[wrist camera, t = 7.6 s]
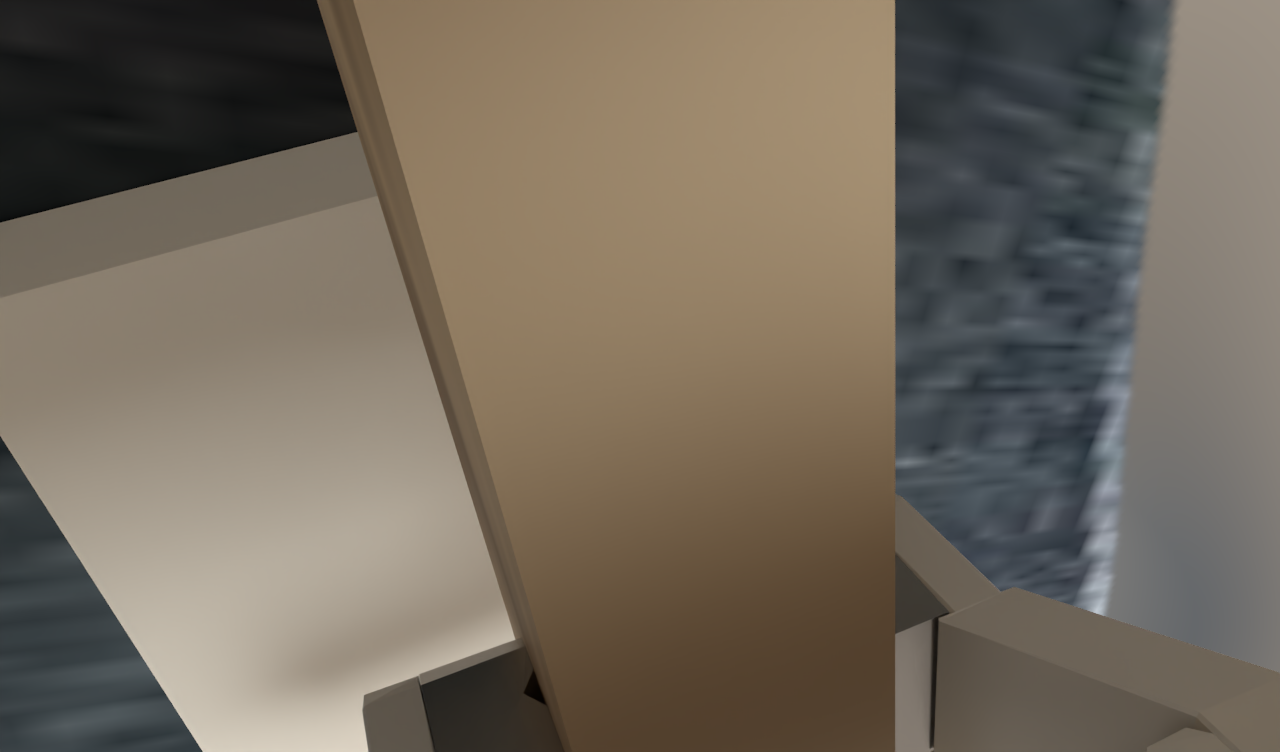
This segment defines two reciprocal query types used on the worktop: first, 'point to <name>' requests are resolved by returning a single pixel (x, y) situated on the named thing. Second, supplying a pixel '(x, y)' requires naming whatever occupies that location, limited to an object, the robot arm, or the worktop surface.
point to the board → (247, 442)
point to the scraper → (659, 343)
